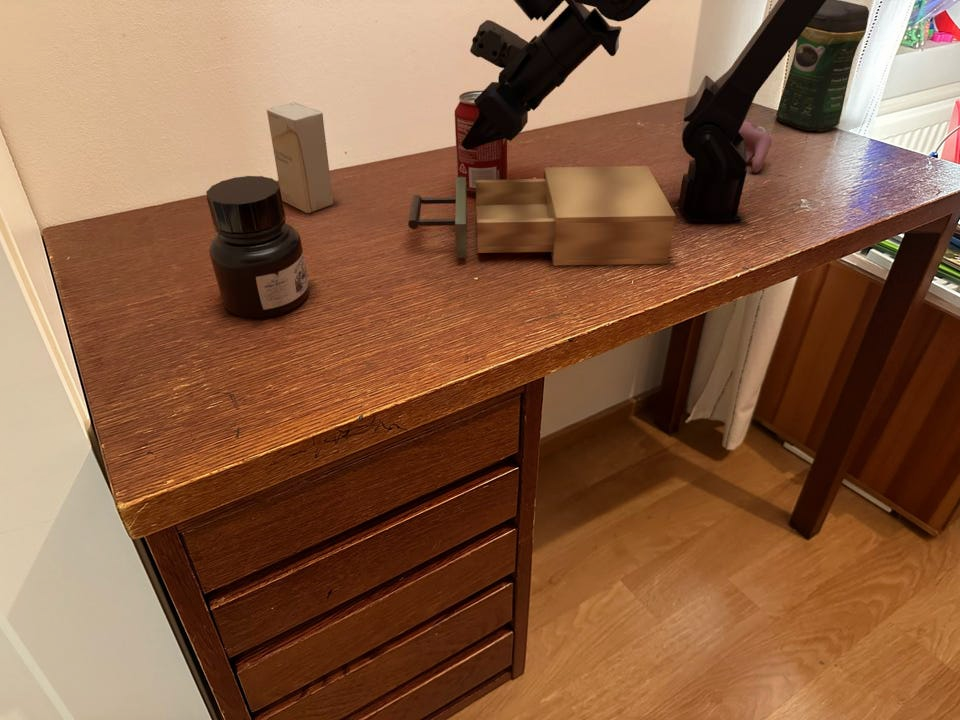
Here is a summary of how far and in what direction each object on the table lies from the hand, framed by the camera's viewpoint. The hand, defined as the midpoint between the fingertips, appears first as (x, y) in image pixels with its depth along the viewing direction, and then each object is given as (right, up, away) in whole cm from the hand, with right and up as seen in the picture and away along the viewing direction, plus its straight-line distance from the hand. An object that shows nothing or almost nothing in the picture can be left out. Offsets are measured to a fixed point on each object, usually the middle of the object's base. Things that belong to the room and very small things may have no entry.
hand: (471, 137), depth 91 cm
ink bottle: (-21, -23, -18) cm, 36 cm away
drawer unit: (+16, -14, -8) cm, 23 cm away
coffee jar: (+56, +10, +25) cm, 62 cm away
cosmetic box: (-22, -9, +1) cm, 23 cm away
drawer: (+2, -14, -8) cm, 16 cm away
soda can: (+1, -6, +4) cm, 7 cm away
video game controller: (+38, 0, +11) cm, 40 cm away
